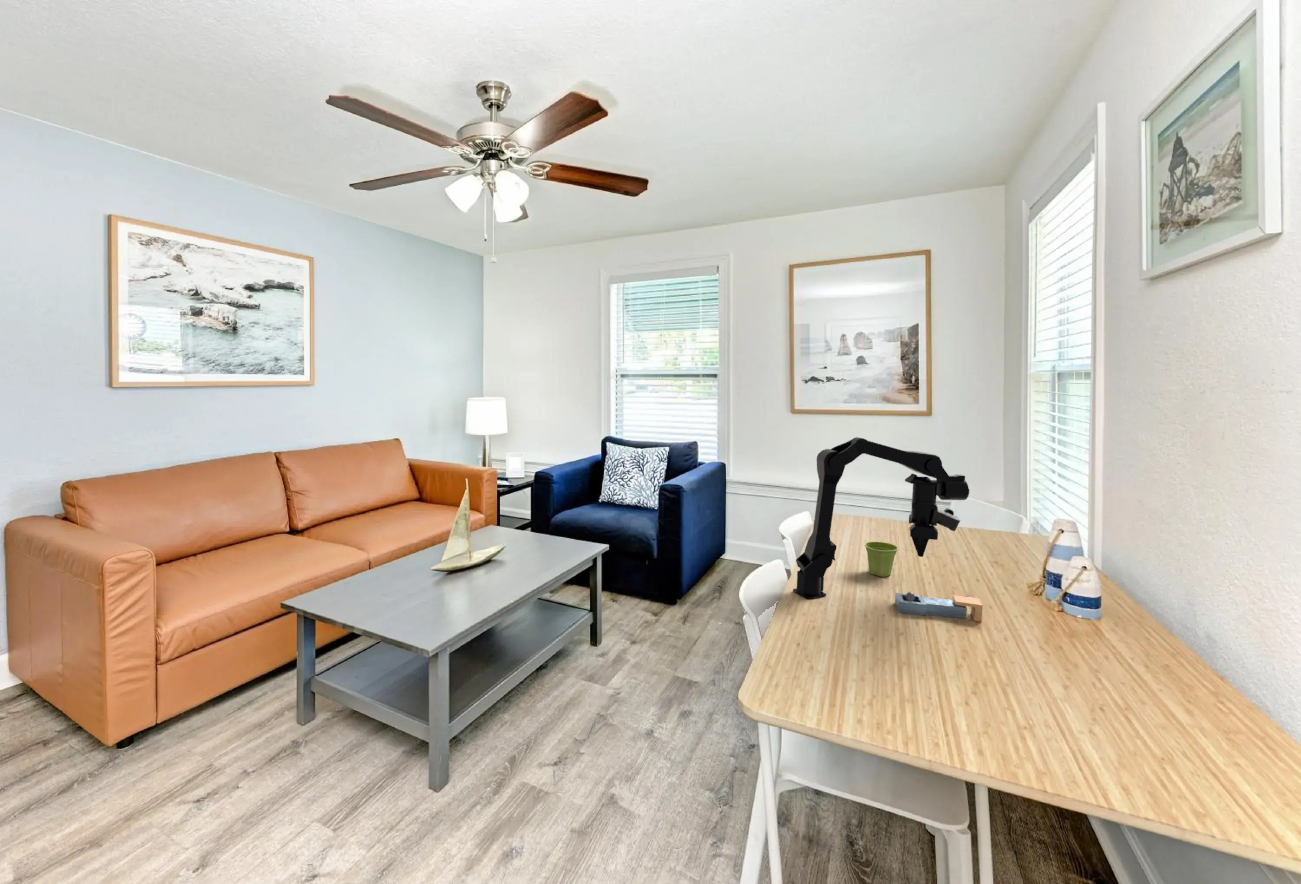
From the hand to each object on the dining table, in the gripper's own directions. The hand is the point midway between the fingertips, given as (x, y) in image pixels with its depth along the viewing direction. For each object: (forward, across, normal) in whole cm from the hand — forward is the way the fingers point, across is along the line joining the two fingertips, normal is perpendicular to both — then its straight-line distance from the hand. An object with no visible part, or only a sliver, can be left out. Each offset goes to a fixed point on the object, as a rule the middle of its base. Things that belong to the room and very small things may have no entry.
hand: (920, 556), depth 141 cm
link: (+11, -10, -2) cm, 15 cm away
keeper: (+11, -9, -10) cm, 17 cm away
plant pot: (+11, +14, +10) cm, 21 cm away
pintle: (+11, -10, +2) cm, 15 cm away
